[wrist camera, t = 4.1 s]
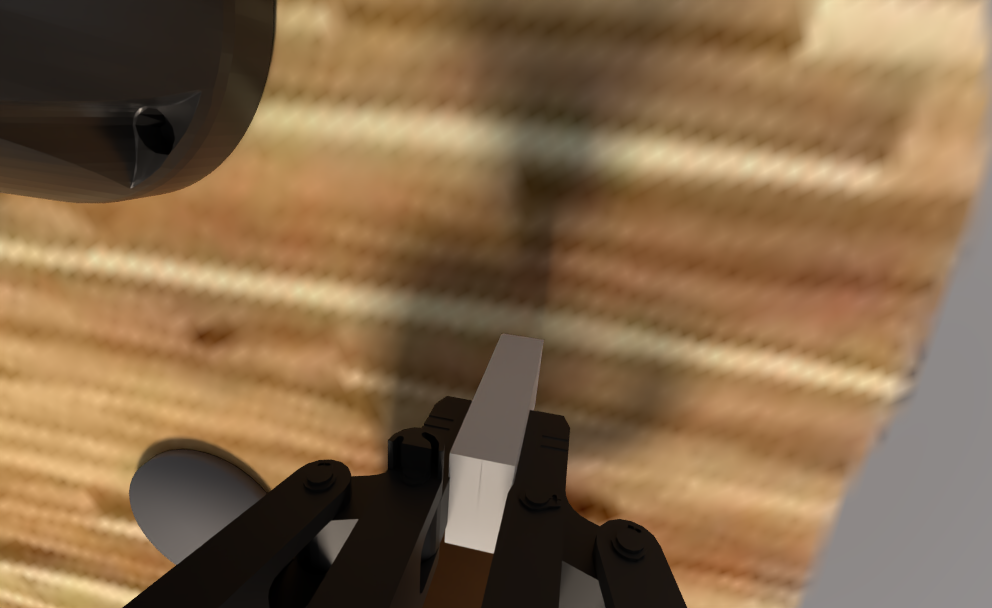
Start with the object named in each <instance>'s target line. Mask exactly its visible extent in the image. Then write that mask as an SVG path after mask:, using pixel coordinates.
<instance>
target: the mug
mask: <svg viewBox="0 0 992 608" xmlns="http://www.w3.org/2000/svg"><path fill="white" fill-rule="evenodd" d="M492 558H493V553H489V552H484V551H480V550H476V549H471V548H467V547H462V546H458V545H454V544H449V543H445V531H444V534H443V537H442V540H441V542H440V547H439V559H438V564H437V567H436V570H435V573H434V576H433V578H432V581H431V584H430V587H429V590H428V593H427V596H426V598H425V601H424V604H423V607H422V608H481V606H482V601H483V597H484V593H485V588H486V584H487V580H488V576H489V571H490V567H491V563H492Z"/></svg>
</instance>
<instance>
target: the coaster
mask: <svg viewBox="0 0 992 608" xmlns="http://www.w3.org/2000/svg"><path fill="white" fill-rule="evenodd" d="M266 494H267V493H266V492H265V491H264V490H263V489H262V488H261V487H260V486H259V484H258V483H256V482H255V481H254V480H253V479H252V478H251V477H250V476H248V475H247V474H246V473H244V472H243V471H242V470H240V469H239V468H237V467H235V466H234V465H232V464H230V463H228V462H226V461H224V460H222V459H220V458H218V457H215V456H213V455H210V454H207V453H203V452H199V451H194V450H182V449H179V450H170V451H166V452H162V453H160V454H158V455H156V456H155V457H153V458H152V459H150V460H149V461H148V462H146V463H145V464H144V465H143V466H141V467H140V468H139V469H138V470H137V471H136V473H135V474H134V476H133V478H132V481H131V484H130V490H129V496H130V504H131V508H132V511H133V514H134V517H135V519H136V521H137V523H138V525H139V526H140V528H141V530H142V531H143V533H144V534H145V535H146V537H147V538H148V539H149V541H150V542H151V543H152V544H153V545H154V546H155V547H156V548H157V549H158V550H159V551H160V552H161V553H162V554H163V555H164V556H165V557H167V558H168V559H169V560H170V561H171V562H173V563H174V564H176V565H177V564H179V563H180V562H181V561H182V560H184V559H185V558H186V557H187V556H189V555H190V554H191V553H193V552H194V551H195V550H196V549H198V548H199V547H200V546H201V545H203V544H204V543H205V542H207V541H208V540H209V539H210V538H212V537H213V536H214V535H215V534H217V533H218V532H219V531H220V530H222V529H223V528H224V527H226V526H227V525H228V524H229V523H231V522H232V521H233V520H234V519H236V518H237V517H238V516H240V515H241V514H242V513H243V512H245V511H246V510H247V509H248V508H250V507H251V506H252V505H254V504H255V503H256V502H257V501H259V500H260V499H261V498H262V497H264V496H265V495H266Z"/></svg>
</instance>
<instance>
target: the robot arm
mask: <svg viewBox="0 0 992 608" xmlns="http://www.w3.org/2000/svg"><path fill="white" fill-rule="evenodd" d="M272 37H273V0H0V193H7V194H14V195H21V196H28V197H35V198H42V199H49V200H56V201H63V202H72V203H111V202H119V201H125V200H131V199H137V198H143V197H149V196H155V195H161V194H166V193H170V192H174V191H177V190H180V189H183V188H185V187H187V186H190V185H192V184H194V183H196V182H197V181H199V180H201V179H202V178H204V177H205V176H207V175H208V174H210V173H211V172H212V171H214V170H215V169H216V168H217V167H218V166H219V165H220V164H221V163H222V162H223V161H224V160H225V159H226V158H227V157H228V156H229V155H230V154H231V153H232V151H233V150H234V149H235V148H236V146H237V145H238V143H239V142H240V140H241V139H242V137H243V136H244V134H245V132H246V131H247V129H248V127H249V125H250V123H251V121H252V119H253V117H254V115H255V112H256V110H257V107H258V105H259V102H260V99H261V96H262V93H263V89H264V86H265V82H266V78H267V73H268V68H269V63H270V56H271V48H272ZM543 342H544V340H542V339H536V338H530V337H523V336H517V335H511V334H504V333H502V334H501V336H500V338H499V341H498V343H497V345H496V348H495V350H494V352H493V354H492V357H491V359H490V361H489V364H488V366H487V368H486V371H485V373H484V375H483V377H482V380H481V382H480V384H479V387H478V389H477V391H476V394H475V396H474V398H473V400H472V401H471V400H466V399H460V398H455V397H449V396H446V397H445V398H444V399H442V400H441V401H439V402H438V403H436V404H435V405H434V407H433V409H432V411H431V413H430V414H429V417H428V418H427V420H426V421H425V423H424V426H423V427H422V428H410V429H404V430H402V431H400V432H398V433H395V434H394V435H393V436H392V437H391V438H390V439H389V440H388V470H387V472H385V473H382V474H379V475H371V476H351V473H350V471H349V468H348V467H347V466H346V465H344V464H343V463H342V462H339V461H335V460H318V461H315V462H311V463H308V464H306V465H305V466H303V467H301V468H300V469H298V470H297V471H295V472H294V473H293V474H292V475H290V476H289V477H288V478H287V479H285V480H284V481H283V482H281V483H280V484H279V485H278V486H276V487H275V488H274V489H273V490H271V491H270V492H269V493H267V494H266V495H265V496H264V497H262V498H261V499H260V500H259V501H257V502H256V503H255V504H254V505H252V506H251V507H250V508H248V509H247V510H246V511H245V512H243V513H242V514H241V515H240V516H238V517H237V518H236V519H234V520H233V521H232V522H231V523H229V524H228V525H227V526H226V527H224V528H223V529H222V530H220V531H219V532H218V533H217V534H215V535H214V536H213V537H212V538H210V539H209V540H208V541H207V542H205V543H204V544H203V545H201V546H200V547H199V548H198V549H196V550H195V551H194V552H193V553H191V554H190V555H189V556H187V557H186V558H185V559H184V560H182V561H181V562H180V563H179V564H177V565H176V566H175V567H173V568H172V569H171V570H170V571H168V572H167V573H166V574H165V575H163V576H162V577H161V578H160V579H158V580H157V581H156V582H154V583H153V584H152V585H151V586H149V587H148V588H147V589H146V590H144V591H143V592H142V593H140V594H139V595H138V596H137V597H135V598H134V599H133V600H132V601H130V602H129V603H128V604H126V605H125V606H124V607H123V608H422V607H423V604H424V601H425V598H426V596H427V593H428V590H429V587H430V584H431V581H432V578H433V576H434V573H435V570H436V567H437V564H438V559H439V547H440V542H441V540H442V537H443V534H444V531H445V543H449V544H454V545H458V546H462V547H467V548H471V549H476V550H480V551H484V552H489V553H493V558H492V563H491V567H490V571H489V576H488V580H487V584H486V588H485V593H484V597H483V601H482V606H481V608H687V606H686V604H685V602H684V599H683V597H682V595H681V592H680V590H679V588H678V585H677V583H676V581H675V578H674V576H673V574H672V572H671V569H670V567H669V565H668V562H667V560H666V558H665V555H664V553H663V551H662V549H661V546H660V545H659V543H658V542H657V540H656V538H655V537H654V535H652V534H651V533H650V532H649V531H648V530H646V529H645V528H644V527H643V526H640V525H638V524H636V523H634V522H632V521H627V520H622V519H617V520H610V521H607V522H606V523H604V524H603V525H601V526H598V525H596V524H594V523H592V522H590V521H588V520H587V519H585V518H584V517H582V516H580V515H579V514H578V513H577V512H576V511H575V510H574V509H573V508H572V507H571V505H570V504H569V502H568V500H567V497H566V491H565V488H566V474H567V461H568V447H569V434H570V427H569V425H568V423H567V422H566V420H565V418H564V416H561V415H555V414H550V413H544V412H539V411H534V408H535V402H536V394H537V387H538V380H539V372H540V365H541V357H542V350H543Z"/></svg>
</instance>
